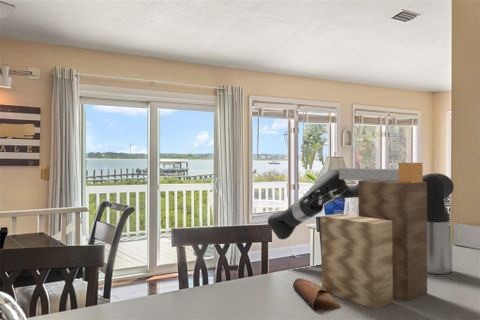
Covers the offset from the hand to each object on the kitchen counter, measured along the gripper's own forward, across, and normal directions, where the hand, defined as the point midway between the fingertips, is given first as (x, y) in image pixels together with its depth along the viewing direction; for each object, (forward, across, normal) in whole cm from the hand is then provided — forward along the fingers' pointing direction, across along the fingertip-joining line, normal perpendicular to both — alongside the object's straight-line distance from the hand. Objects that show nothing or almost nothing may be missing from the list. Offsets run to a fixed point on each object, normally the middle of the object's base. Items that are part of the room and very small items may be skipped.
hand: (337, 187), depth 138 cm
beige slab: (0, -13, +34) cm, 36 cm away
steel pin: (+15, 0, +5) cm, 15 cm away
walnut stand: (+3, 0, +35) cm, 35 cm away
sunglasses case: (-5, -23, +31) cm, 39 cm away
